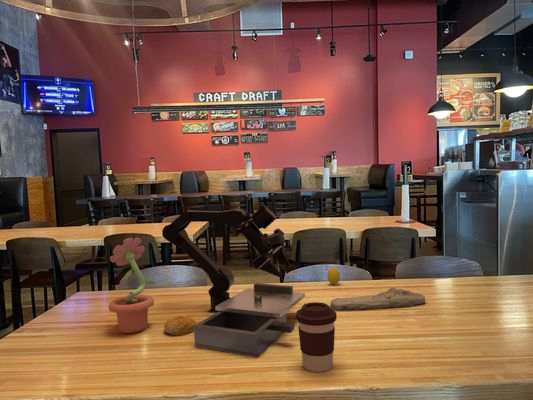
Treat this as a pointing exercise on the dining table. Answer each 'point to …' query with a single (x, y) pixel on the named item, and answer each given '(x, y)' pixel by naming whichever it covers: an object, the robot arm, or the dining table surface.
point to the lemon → (333, 275)
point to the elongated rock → (379, 300)
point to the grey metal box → (240, 332)
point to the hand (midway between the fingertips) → (284, 271)
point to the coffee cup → (316, 335)
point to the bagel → (179, 325)
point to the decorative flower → (133, 305)
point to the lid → (263, 300)
